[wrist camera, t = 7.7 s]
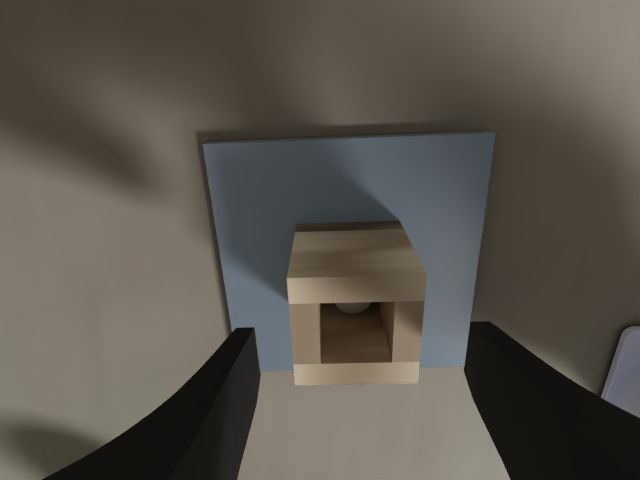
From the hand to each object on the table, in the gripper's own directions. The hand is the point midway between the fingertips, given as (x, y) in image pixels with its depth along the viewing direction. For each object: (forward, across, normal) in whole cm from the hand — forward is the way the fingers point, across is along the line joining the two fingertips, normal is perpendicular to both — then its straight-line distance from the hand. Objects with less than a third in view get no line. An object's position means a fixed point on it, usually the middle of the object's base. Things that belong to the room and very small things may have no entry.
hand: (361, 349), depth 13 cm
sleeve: (+6, 0, 0) cm, 6 cm away
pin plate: (+6, 0, 0) cm, 6 cm away
